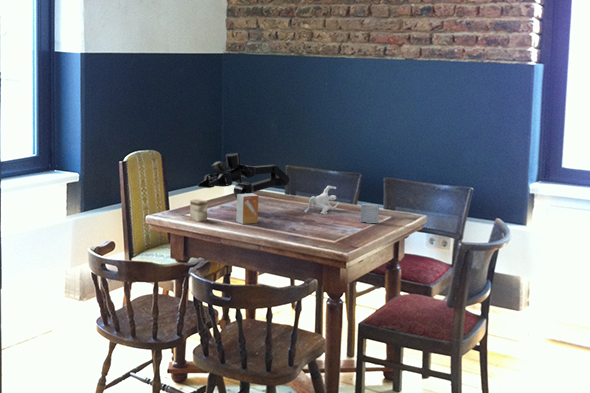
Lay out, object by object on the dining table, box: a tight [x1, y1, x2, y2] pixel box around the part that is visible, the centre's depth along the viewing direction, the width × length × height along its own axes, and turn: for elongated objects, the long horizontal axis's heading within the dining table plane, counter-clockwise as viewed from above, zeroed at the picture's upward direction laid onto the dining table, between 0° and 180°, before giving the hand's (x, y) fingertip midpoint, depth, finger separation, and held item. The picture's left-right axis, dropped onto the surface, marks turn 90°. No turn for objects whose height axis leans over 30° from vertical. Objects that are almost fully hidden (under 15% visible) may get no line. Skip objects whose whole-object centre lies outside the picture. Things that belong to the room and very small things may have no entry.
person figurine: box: [303, 185, 340, 215], centre depth 336 cm, size 13×13×18 cm
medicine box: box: [359, 203, 380, 224], centre depth 312 cm, size 8×4×9 cm, turn 71°
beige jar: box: [189, 198, 208, 222], centre depth 305 cm, size 6×6×9 cm
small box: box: [235, 193, 259, 225], centre depth 303 cm, size 8×6×13 cm
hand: (203, 185), depth 307 cm, fingers open, 9 cm apart
